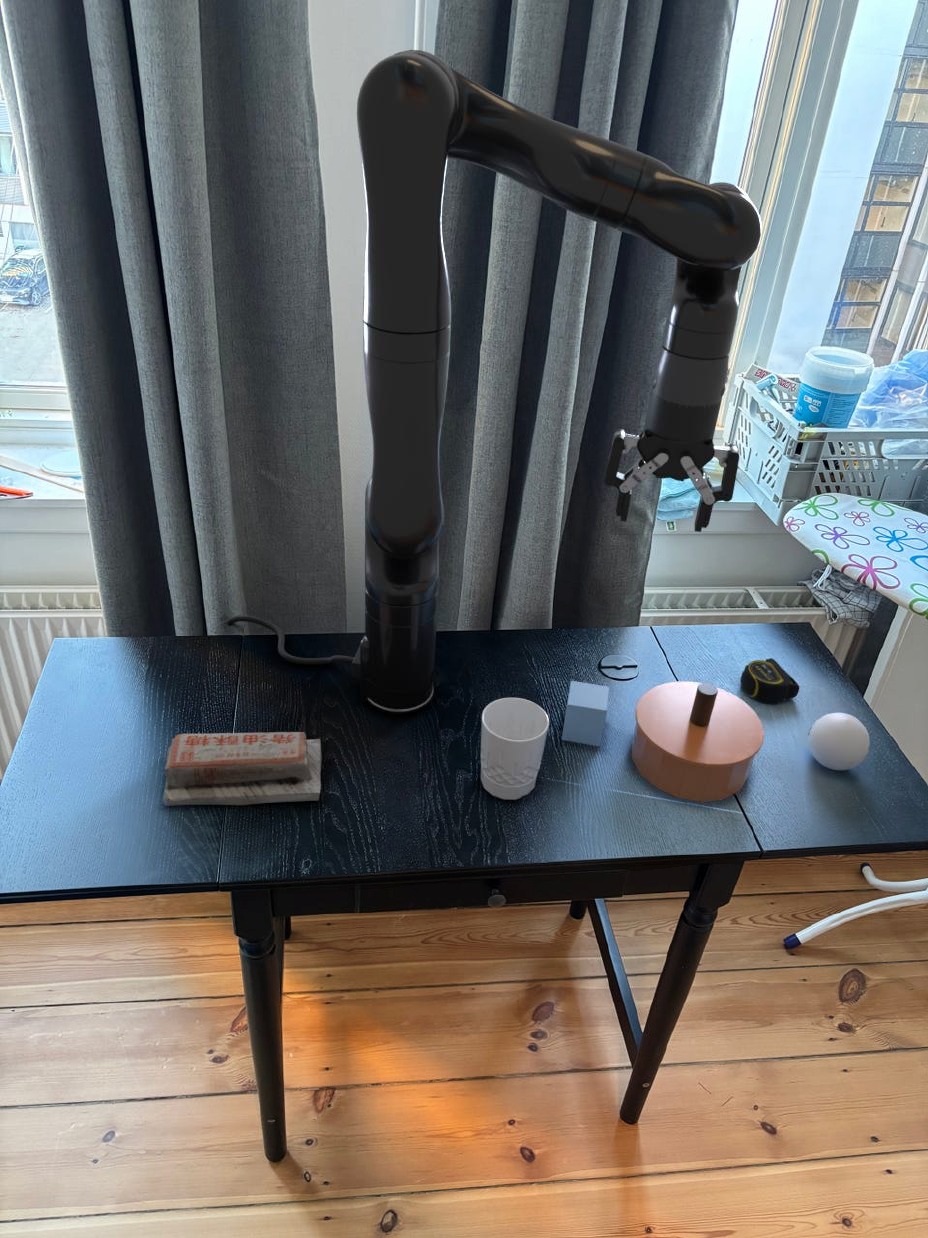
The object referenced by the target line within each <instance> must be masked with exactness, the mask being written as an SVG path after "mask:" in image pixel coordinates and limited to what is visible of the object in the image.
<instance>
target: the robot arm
mask: <svg viewBox="0 0 928 1238" xmlns="http://www.w3.org/2000/svg"><path fill="white" fill-rule="evenodd" d="M356 122H357V133H358V140H359V141H358V143H359V148H360V150H359V151H360V157H361V158H360V159H361V165H362V166H361V168H362V176H363V177H362V178H363V187H364V197H365V198H364V199H365V210H366V233H365V234H366V235H365V248H364V264H363V265H364V267H363V270H364V271H363V299H362V300H363V303H362V342H363V344H362V346H363V347H362V349H363V350H362V351H363V366H364V378H365V388H366V398H367V406H368V413H369V420H370V426H371V435H372V452H373V453H372V471H371V475H370V477H369V479H368V480H367V483H366V487H365V492H364V635H363V637H362V639H361V641H360V644H359V647H358V649H357V651H356V653H355V655H354V656H348V655H341V654H339V655H336V654H335V655H332V656H330V657H317V658H313V657H312V658H311V657H310V658H308V657H307V658H306V657H298V656H294V655H292V654H289V653H288V652H287V651H286V650H285V641H286V640H285V638H286V637H285V633H284V632H283V630H282V629H281V628H280V627H278V626H277V625H276V624H274V623H272V622H270V621H268V620H266V619H263V618H261V617H257V616H253V615H245V614H242V615H241V614H240V615H235V616H232V617H230V618H228V619H226V620H225V624H226V625H233V624H235V623H239V622H240V623H241V622H246V623H247V622H248V623H253V624H256V625H259V626H262V627H265V628H267V629H268V630H270V631H272V632H274V633H275V634H276V635H277V637H278V640H277V641H278V642H277V652H278V654H279V655H280V657H281V658H282V659H283V660H285V661H287V662H289V663H293V664H297V665H305V666H309V665H310V666H315V665H316V666H317V665H319V666H320V665H332V664H335V663H347V664H351V678H354V679H359V696H360V697H359V700H360V702H363V703H368V705H369V706H371V707H372V708H374V709H375V710H377V711H379V712H381V713H385V714H387V715H398V716H399V715H400V716H401V715H402V716H403V715H409V714H414V713H418V712H419V711H421V710H423V709H425V708H426V707H427V706H428V705H429V704H430V703H431V702H432V700H433V699H434V690H435V689H434V688H435V687H434V682H435V677H436V664H435V658H436V639H437V620H438V602H439V585H440V536H441V534H442V531H443V528H444V524H445V509H444V503H443V494H442V487H441V470H440V468H441V467H440V447H441V446H440V445H441V444H440V443H441V435H442V434H441V433H442V426H443V420H444V413H445V406H446V399H447V398H446V397H447V389H448V379H449V367H450V366H449V364H450V355H451V336H452V335H451V332H452V300H451V288H450V279H449V271H448V264H447V258H446V253H445V247H444V240H443V221H442V220H443V219H442V218H443V203H444V192H445V183H446V182H445V181H446V174H447V173H446V172H447V165H448V159H452V160H455V161H461V162H464V163H465V162H466V163H470V164H473V165H476V166H479V167H481V168H485V169H488V170H490V171H493V172H495V173H497V174H500V175H502V176H504V177H507V178H509V179H510V180H513V181H514V182H517V184H520V185H522V186H524V187H525V188H527V189H529V190H531V191H532V192H534V193H536V194H538V195H539V196H541V197H543V198H544V199H546V200H547V201H549V202H551V203H553V204H555V205H557V206H559V207H561V208H563V209H565V210H567V211H569V212H571V213H573V214H576V215H577V216H580V217H582V218H586V219H588V220H591V221H592V222H594V223H598V224H600V225H602V226H606V227H608V228H611V229H613V230H617V231H619V232H622V233H624V234H629V235H632V236H635V237H638V238H640V239H642V240H644V241H646V242H648V243H649V244H651V245H652V246H654V247H656V248H657V249H659V250H662V251H663V252H666V253H667V254H669V255H671V256H673V257H674V258H675V266H674V277H673V287H672V288H673V289H672V293H671V297H670V302H669V305H668V309H667V313H666V318H665V325H664V329H663V330H664V331H663V336H662V341H661V345H660V349H659V353H658V355H657V359H656V361H655V365H654V371H653V377H652V379H651V387H650V392H649V399H648V404H647V410H646V415H645V421H644V425H643V426H644V427H643V430H642V432H641V433H640V434H639V435H637V434H630V433H626V431H625V430H624V429H622V428H618V429H616V430H615V431H614V434H613V438H612V443H611V446H610V452H609V455H608V460H607V463H606V464H607V465H606V469H605V476H604V484H605V485H606V486H608V487H614V488H616V489H617V490H618V495H617V500H616V505H615V506H616V507H615V514H616V517H620V520H619V521H620V522H624V523H627V520H628V515H629V509H630V505H631V498H632V491H633V490H632V489H634V488H635V487H636V486H637V485H638V484H639V483H643V482H644V481H645V480H646V479H647V478H648V477H650V475H652V476H655V478H656V479H671V480H674V481H676V482H677V481H678V482H685V481H686V480H689V479H690V481H691V483H692V484H693V485H692V486H693V487H694V488H695V490H696V491H697V492H698V493H699V495H700V498H699V500H698V501H699V502H698V505H697V510H696V515H695V519H694V532H698V533H701V532H702V530H703V529H706V528H708V526H709V524H710V521H711V520H710V519H711V516H712V513H713V508H714V505H715V504H716V503H717V502H722V501H723V502H726V503H727V502H730V501H732V500H733V497H734V491H735V486H736V479H737V474H738V468H739V463H740V449H739V445H738V444H736V443H733V442H732V443H730V444H728V445H727V446H720V445H719V446H718V445H715V444H714V436H715V432H716V428H717V423H718V419H719V414H720V409H721V405H722V400H723V396H725V393H726V383H727V380H728V379H727V378H728V371H729V360H730V355H731V349H732V344H733V341H734V335H735V332H736V327H737V326H736V325H737V322H738V321H737V320H738V314H739V299H738V286H739V283H740V277H741V273H742V268H743V266H744V265H746V263H747V262H748V261H750V259H751V258H752V257H753V256H754V255H755V253H756V251H757V250H758V248H759V246H760V242H761V238H762V231H763V230H762V220H761V216H760V214H759V212H758V210H757V208H756V206H755V205H754V203H753V202H752V200H751V198H750V197H749V196H748V194H747V193H746V192H745V191H744V190H743V189H742V188H740V186H737V185H735V184H733V183H729V182H725V181H719V182H718V181H717V182H712V183H710V184H705V183H703V182H700V181H698V180H694V179H692V178H690V177H687V176H685V175H681V174H679V173H678V172H675V171H674V170H673V169H672V168H671V167H670V166H669V165H667V163H664V162H663V161H661V160H659V159H657V158H655V157H653V156H651V155H648V154H645V153H644V152H641V151H639V150H636V149H634V148H631V147H628V146H625V145H623V144H620V143H618V142H616V141H612V140H610V139H607V138H605V137H602V136H599V135H596V134H593V133H591V132H588V131H585V130H582V129H579V128H576V127H574V126H572V125H569V124H565V123H563V122H560V121H557V120H554V119H553V118H549V117H546V116H544V115H541V114H539V113H537V112H534V111H532V110H530V109H527V108H525V107H523V106H521V105H518V104H516V103H515V102H512V101H510V100H508V99H507V98H504V97H502V96H500V95H499V94H496V93H494V92H492V91H490V90H489V89H487V88H485V86H483V85H480V84H479V83H478V82H475V81H474V80H472V79H471V78H469V77H468V76H466V75H465V74H463V73H461V72H460V71H458V70H457V69H455V68H453V67H452V66H451V65H449V64H447V63H446V62H444V61H443V60H442V59H441V58H440V57H438V56H436V55H435V54H433V53H431V52H428V51H425V50H421V49H408V50H403V51H399V52H397V53H394V54H391V55H389V56H387V57H385V58H383V59H382V60H379V61H378V62H377V63H376V64H375V65H374V66H373V67H372V68H371V69H370V70H369V71H368V73H367V74H366V76H365V77H364V79H363V81H362V84H361V86H360V87H359V92H358V97H357V102H356ZM634 447H635V448H636V449H637V452H638V453H639V455H640V458H639V459H637V460H636V461H635V462H634V463H633V465H632V466H631V467H630V468H629V469H628V470H627V471H626V472H625V473H621V472H619V468H620V463H621V459H622V455H627V454H629V453H630V451H631V449H632V448H634ZM713 458H716V459H717V461H718V465H719V467H721V468H723V469H722V470H723V471H722V475H721V484H720V485H715V486H713V484H712V483H711V480H710V479H709V476H708V474H707V472H706V469H705V468H704V467H705V466H706V465H707V464H709V463H710V462H711V461H712V460H714V459H713Z"/></svg>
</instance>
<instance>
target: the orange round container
mask: <svg viewBox="0 0 928 1238" xmlns="http://www.w3.org/2000/svg"><path fill="white" fill-rule="evenodd" d="M634 728H635V729H634V732H633V737H632V743H631V755H630V757H631V760H632V761H633V763H634V765H635V767H636V769H637V771H638V773H639V774H640V776H642V777H643V778H644V779H645V780H647V781H648V782H649V783H650V784H651V785H652V786H653V787H654V788H656V789H658V790H660V791H662V792H664V793H667V794H669V795H670V796H673V797H675V798H678V799H683V800H689V801H695V802H702V803H704V802H712V801H721V800H726V799H728V798H729V797H731V796H733V795H735V794H736V793H739V792H740V791H741V790H742V788H743V786H744V785H745V784H746V782H747V780H748V778H749V776H750V772H751V769H752V766H753V763H754V759H755V756H756V755H755V756H753V757H752V758H751V759H749V760H748V761H746V762H743V763H741V764H738V765H734V766H729V767H704V766H698V765H693V764H689V763H686V762H682V761H680V760H677V759H675V758H673V757H671V756H669V755H667V754H665V753H663V752H662V751H660V750H659V749H657V748H656V747H655V746H653V745H652V744H651V743H650V742H649V741H648V740H647V739H646V738H645V737H644V735H643V734H642V732H641V731H640V729H639V727H638V725H637V722H636V723H635V727H634Z"/></svg>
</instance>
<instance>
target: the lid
mask: <svg viewBox="0 0 928 1238" xmlns="http://www.w3.org/2000/svg"><path fill="white" fill-rule="evenodd" d="M634 716H635V721H636V723H637V725H638V727H639V729H640V731H641V732H642V734H643V735H644V737H645V738H646V739H647V740H648V741H649V742H650V743H651V744H652V745H653V746H655V747H656V748H657V749H659V750H660V751H662V752H663V753H665V754H667V755H669V756H671V757H673V758H675V759H677V760H680V761H682V762H686V763H689V764H693V765H698V766H704V767H729V766H734V765H738V764H741V763H743V762H746V761H748V760H749V759H751V758H752V757H753V756H756V755H757V754H758V753H759V751H760V750H761V749H762V747H763V743H764V739H765V729H764V724H763V723H762V720H761V719H760V717H759V715H758V714H757V713H756V711H755V710H754V709H753V708H752V707H751V706H750V705H749V704H748V703H747V702H746V701H745V700H743V699H741V698H740V697H739V696H737V695H735V694H733V693H731V692H730V691H728V690H725V689H723V688H722V687H721V688H720V687H718V686H716V685H714V684H712V683H709V682H697V681H690V680H680V681H679V680H678V681H677V680H676V681H668V682H664V683H661V684H657V685H654V686H653V687H651V688H650V689H648V690H647V691H645V692H644V693H643V694H642V695H641V696H640V698H639V699H638V701H637V704H636V707H635V715H634Z"/></svg>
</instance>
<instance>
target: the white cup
mask: <svg viewBox="0 0 928 1238" xmlns="http://www.w3.org/2000/svg"><path fill="white" fill-rule="evenodd" d="M480 725H481V727H480V729H481V731H480V781H481V784H482V787H483V789H485V790H486V791H487V792H488V793H489V794H490V795H491V796H493V797H496V798H499V799H502V800H506V801H507V800H509V801H512V800H513V801H517V800H520V799H522V798H523V797H524V796H528V795H529V794H530V793H531V791H533V790H534V789H535V787H536V781H537V778H538V777H537V776H538V774H539V771H540V769H541V763H542V760H543V759H542V758H543V755H544V751H545V746H546V741H547V735H548V732H549V726H550V718H549V716H548V713H547V712H546V711H545V709H543V708H542V706H540V705H538V703H535V702H534V701H531V700H529V699H525V698H521V697H502V698H498V699H496V700H493V701H491V702H490V703H488V704H487V705H485V707H484V709H483V710H482V712H481V724H480Z"/></svg>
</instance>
